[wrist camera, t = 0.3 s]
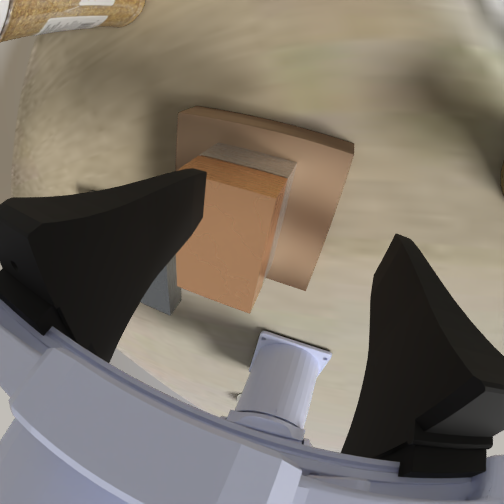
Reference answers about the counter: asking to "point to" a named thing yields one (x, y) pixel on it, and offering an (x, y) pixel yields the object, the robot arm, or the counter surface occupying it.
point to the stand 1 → (164, 289)
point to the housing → (235, 224)
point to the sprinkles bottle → (63, 15)
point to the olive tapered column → (502, 178)
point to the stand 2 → (303, 186)
